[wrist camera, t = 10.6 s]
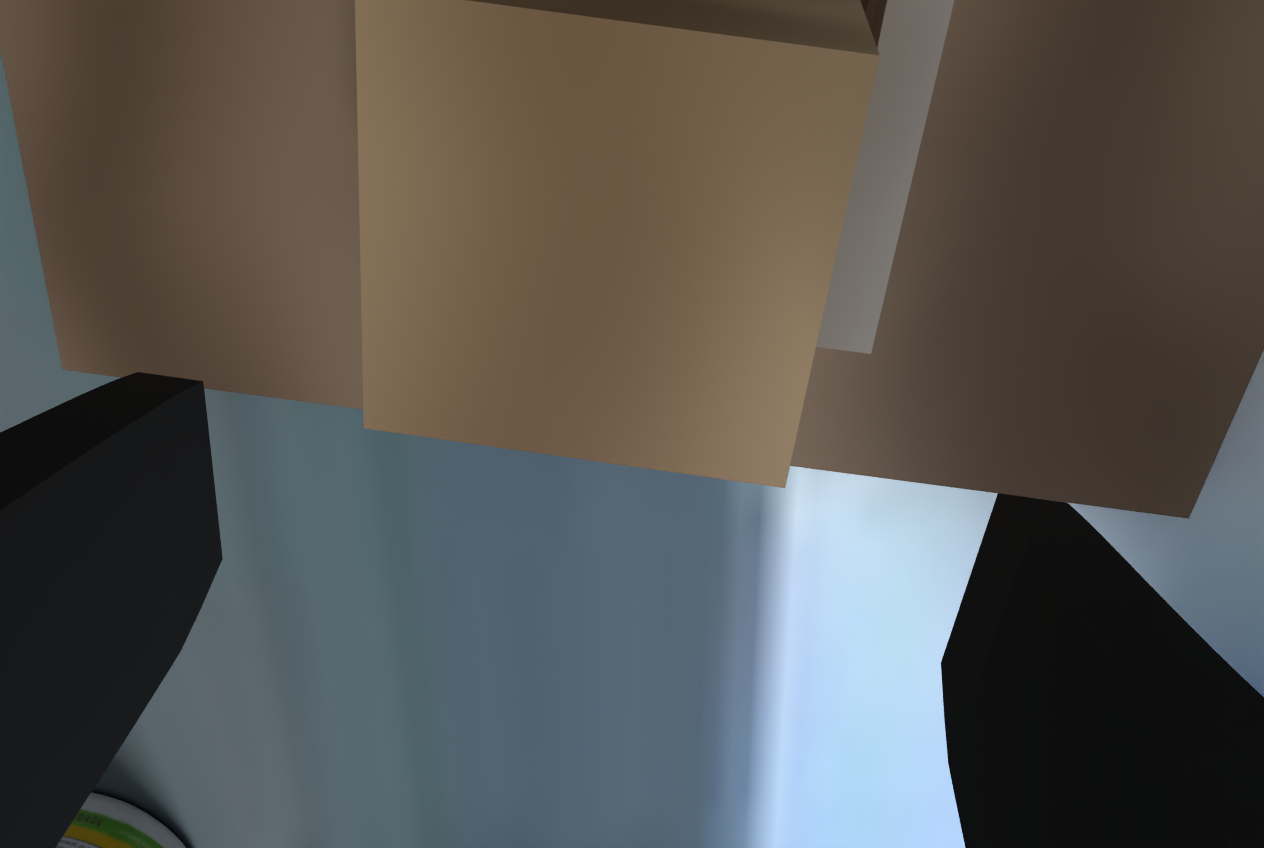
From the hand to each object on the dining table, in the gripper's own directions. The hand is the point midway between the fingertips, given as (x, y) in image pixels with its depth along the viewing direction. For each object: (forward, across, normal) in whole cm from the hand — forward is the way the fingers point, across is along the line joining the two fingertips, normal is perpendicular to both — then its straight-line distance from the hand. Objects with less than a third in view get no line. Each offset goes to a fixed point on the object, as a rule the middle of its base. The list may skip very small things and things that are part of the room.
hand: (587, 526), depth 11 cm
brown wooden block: (+8, 0, -2) cm, 9 cm away
